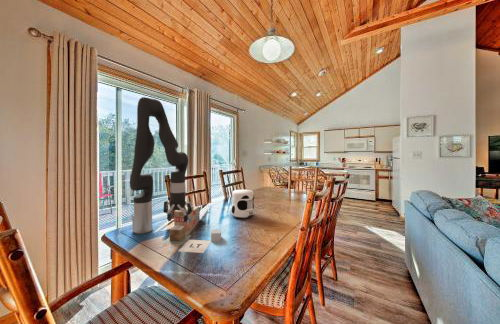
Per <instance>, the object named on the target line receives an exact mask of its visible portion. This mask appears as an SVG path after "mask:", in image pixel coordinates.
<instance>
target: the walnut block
mask: <svg viewBox="0 0 500 324" xmlns="http://www.w3.org/2000/svg"><path fill="white" fill-rule="evenodd" d="M185 233H186V230H185V226H176V225H175V226H174V225H173V226H172V227H171V228H170V229H169V237H170V241H177V242H180V241H181V240H182V239H183V238H184V237H185V235H186V234H185Z"/></svg>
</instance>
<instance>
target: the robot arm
mask: <svg viewBox="0 0 500 324" xmlns="http://www.w3.org/2000/svg"><path fill="white" fill-rule="evenodd" d="M136 113H137V116H136V124H137V125H136V136H135V142H134V153H133V163H132V168H131V172H130V177H129V186H130V187H129V188H130V189H131V190H132V191H133V192H135V191H136V192H137V191H141V192H140V193H138V195H135V196H134V197H133V215H132V217H131V218H132V220H131V221H132V225H131V227H132V233H135V234H139V235H140V234H141V235H142V234H146V233H150V232H151V231H152V230H153V196H154V195H153V192H154V179H153V175H152V174H151V173H145V172H144V173H142V170H143V168H144V166H145V165H146V164H147V163H148V161H149V160H150V159H151V158H152V156H153V154H154V151H155V144H156V143H155V138H154V135H153V133H152V130H151V129H150V117H151V118H152V117H154V118H155V120H156V121H157V123H158V138H159V141H160V142H161V144H162V146H163V148H164V152H165V157H166V160H167V163H168V164H169V165H170V166H172V167H175V168H174V170H172V171H171V172H170V186H169V200H170V201H169V200H168V199H167V200H165V201H163V214H167V215H166V216H167V217H166V219H167V221H168V222H171V221H172V211H175V210H179V211H180V210H181V211H182V212H183V213H184V222H186V221H187V220H188V214H190V213H192V206H193V205H192V201H188V202H186V190H187V188H186V172H187V169H188V165H189V157H188V154H187V153H186V152H183V151H181V152H180V151H177V149H178V147H179V143H178V140H177V138H176V137H175V135H174V132H173V131H172V129H171V125H170V124H169V120H168V117H167V114H166V111H165V108H164V106H163V104H162V102H161V101H160V100H158V99H155V98H151V97H146V96H141V97H140V98H139V100H138V102H137V112H136ZM185 205H186V206H187V207H188V211H187V209H186V207H185ZM169 206H170V207H169Z"/></svg>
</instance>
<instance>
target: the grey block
mask: <svg viewBox="0 0 500 324" xmlns="http://www.w3.org/2000/svg"><path fill="white" fill-rule="evenodd" d="M210 241H211V242H210V243H215V242H222V228H220V229H219V228H218V229H211V230H210Z"/></svg>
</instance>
